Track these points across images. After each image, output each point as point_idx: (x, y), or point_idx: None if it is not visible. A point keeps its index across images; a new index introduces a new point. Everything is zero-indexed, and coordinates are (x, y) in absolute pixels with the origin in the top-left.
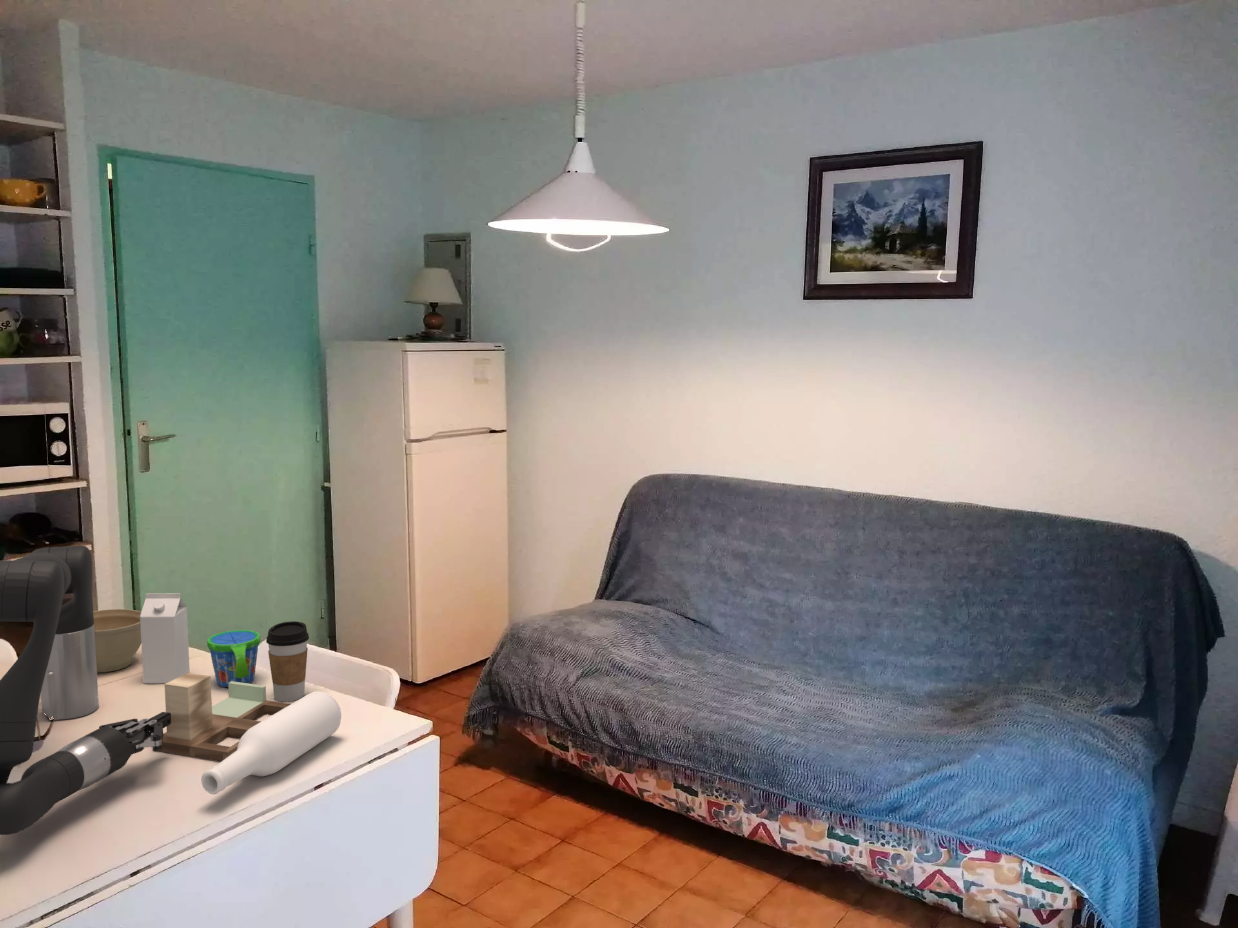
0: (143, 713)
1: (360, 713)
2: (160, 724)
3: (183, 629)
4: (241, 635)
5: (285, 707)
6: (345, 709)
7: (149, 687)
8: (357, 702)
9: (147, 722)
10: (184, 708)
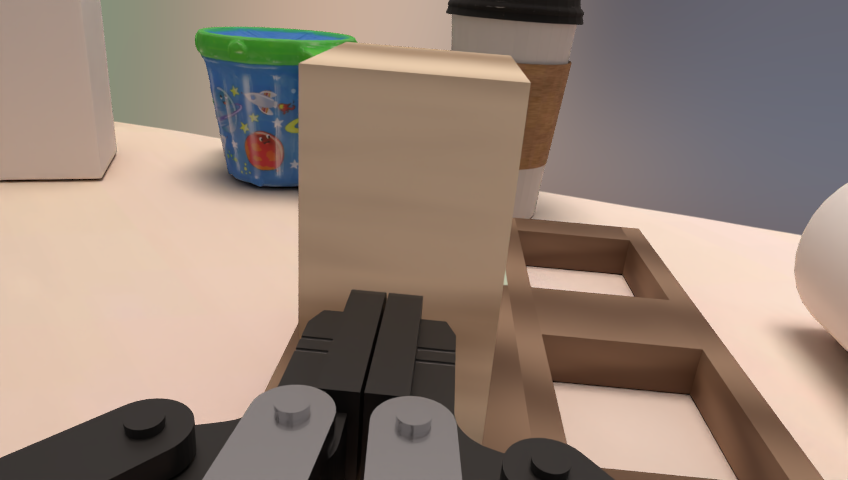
0: (27, 283)
1: (782, 250)
2: (574, 474)
3: (95, 10)
4: (286, 38)
5: (606, 238)
6: (716, 239)
7: (8, 191)
8: (701, 219)
9: (369, 456)
10: (468, 254)
